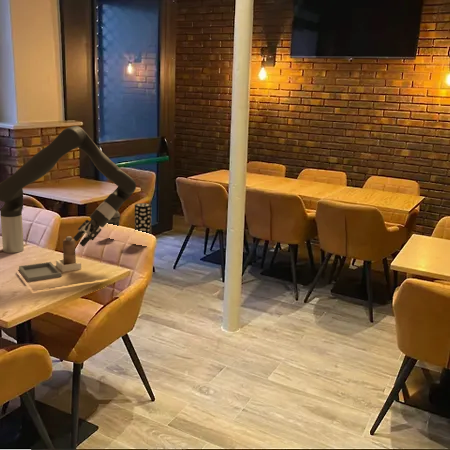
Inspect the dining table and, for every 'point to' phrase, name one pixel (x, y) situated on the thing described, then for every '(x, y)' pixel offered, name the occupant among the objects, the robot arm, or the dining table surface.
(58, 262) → the caddy slot
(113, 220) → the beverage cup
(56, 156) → the robot arm
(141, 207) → the spotted tube
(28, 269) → the serving tray
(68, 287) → the dining table surface
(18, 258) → the dining table surface
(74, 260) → the pepper mill
